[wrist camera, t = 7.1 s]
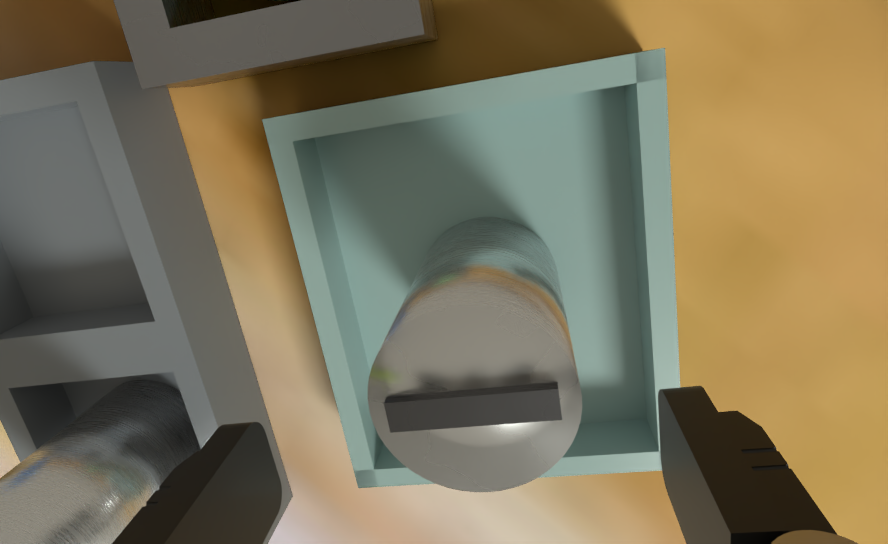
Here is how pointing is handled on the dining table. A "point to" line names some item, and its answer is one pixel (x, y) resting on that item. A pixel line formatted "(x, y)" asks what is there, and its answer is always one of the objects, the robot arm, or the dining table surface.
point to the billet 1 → (98, 468)
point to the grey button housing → (261, 36)
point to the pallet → (109, 261)
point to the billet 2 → (479, 363)
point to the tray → (504, 196)
